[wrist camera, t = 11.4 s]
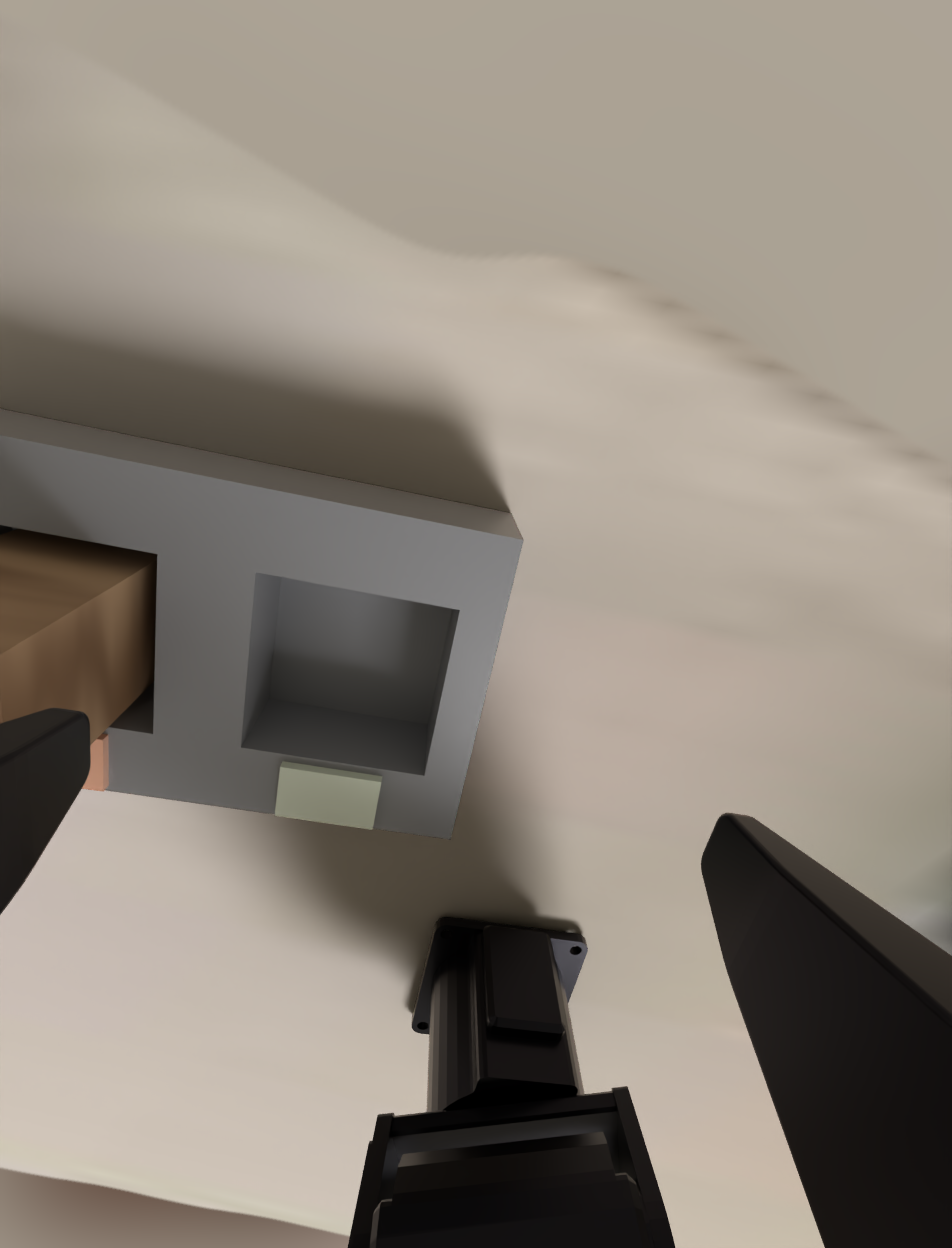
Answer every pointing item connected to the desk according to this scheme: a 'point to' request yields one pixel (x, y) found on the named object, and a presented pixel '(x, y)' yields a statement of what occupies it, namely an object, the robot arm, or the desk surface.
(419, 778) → the socket strip
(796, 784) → the desk surface
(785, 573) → the desk surface
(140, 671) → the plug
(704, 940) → the desk surface
